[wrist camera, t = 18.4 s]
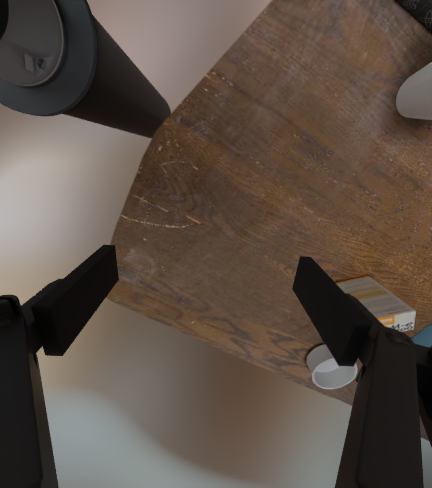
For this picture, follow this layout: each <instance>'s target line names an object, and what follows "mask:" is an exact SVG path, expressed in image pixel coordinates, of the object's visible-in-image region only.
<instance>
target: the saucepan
mask: <svg viewBox="0 0 432 488" xmlns="http://www.w3.org/2000/svg"><path fill="white" fill-rule="evenodd" d="M307 365H308V367H309V369H310V372H311V374H312V379H313V382H314V383H315V384H316V385H317V386H318V387H321V388H324V389H336V388H340V387H343V386H345V385H347V384H349V383H350V382H351V381H352V380H353V379H354V378H355V377H356V374H357V366H356V364H355V365H354V367H351V366H338V364H337V363H336V361H335V359H334V358H333V356H332V354H331V353H330V351H329V349H328V348H327V346H326V344H324V345H321V346H318V347H316V348H315V349H313V350H312V351H311V352H310V353H309V355H308V357H307Z"/></svg>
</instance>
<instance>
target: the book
mask: <svg viewBox="0 0 432 488" xmlns="http://www.w3.org/2000/svg"><path fill="white" fill-rule="evenodd" d="M396 1H398V2H399V3H400V4H401V5H402V6H403V7H404V8H405V9H407V10H408V11H409V12H410V13H411V14H412V15H413V16H414V17H415V18H417V19H418V20H419V21H420V22H421V23H422V24H423V25H424V26H426V27H427V28H428V29H429V30H430V31H431V32H432V0H396Z"/></svg>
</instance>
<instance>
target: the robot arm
mask: <svg viewBox="0 0 432 488" xmlns="http://www.w3.org/2000/svg"><path fill="white" fill-rule="evenodd" d="M67 52H68V35H67V29H66V25H65V21H64V18H63V15H62V12H61V10H60V7H59V5H58V3H57V1H56V0H0V79H2V80H4V81H6V82H9V83H12V84H14V85H17V86H21V87H26V88H38V87H42V86H45V85H47V84H49V83H51V82H52V81H53V80H55V79H56V77H57V76H58V75H59V74H60V72H61V71H62V69H63V67H64V64H65V61H66V58H67ZM118 280H119V278H118V269H117V260H116V251H115V245H103V246H102V247H101V248H99V249H98V250H97V251H96V252H95V253H93V254H92V255H91V256H90V257H89V258H88V259H86V260H85V261H84V262H83V263H82V264H80V265H79V266H78V267H77V268H76V269H75V270H73V271H72V272H71V273H70V274H69V275H68V276H66V277H65V278H64V279H58V280H56V281H54V282H52V283H50V284H48V285H47V286H46V287H44V288H43V289H42V291H39V292H38V293H37V294H36V296H33V297H32V298H31V299H29V300H28V301H27V302H26V303H24V304H23V305H22V306H21V305H20V302H19V299H18V297H17V296H14V295H2V296H0V488H58V481H57V475H56V469H55V463H54V456H53V450H52V444H51V438H50V432H49V426H48V419H47V413H46V407H45V401H44V395H43V388H42V382H41V376H40V369H39V364H38V358H37V355H36V353H37V351H38V350H39V349H40V348H41V347H42V346H43V349H44V352H45V355H50V356H63V355H64V353H65V352H66V350H67V349H68V348H69V346H70V345H71V344H72V342H73V341H74V340H75V338H76V337H77V336H78V334H79V333H80V331H81V330H82V329H83V327H84V326H85V325H86V323H87V322H88V321H89V319H90V318H91V317H92V315H93V314H94V312H95V311H96V310H97V308H98V307H99V306H100V304H101V303H102V302H103V300H104V299H105V298H106V296H107V295H108V293H109V292H110V291H111V289H112V288H113V287H114V285H115V284H116V283H117V281H118ZM292 289H293V291H294V292H295V294H296V296H297V297H298V299H299V301H300V302H301V304H302V306H303V307H304V309H305V311H306V312H307V314H308V316H309V317H310V319H311V321H312V322H313V324H314V326H315V327H316V329H317V331H318V332H319V334H320V336H321V338H322V339H323V341H324V343H325V344H326V346H327V348H328V349H329V351H330V353H331V354H332V356H333V358H334V359H335V361H336V363H337V364H338V366H351V367H354V365H355V362H356V360H357V358H359V360H360V361H361V362H362V364H363V365H362V368H361V370H360V372H359V374H358V376H357V378H356V381H357V382H358V383H357V388H356V393H355V397H354V402H353V406H352V411H351V416H350V420H349V425H348V430H347V434H346V439H345V443H344V448H343V452H342V457H341V462H340V466H339V471H338V475H337V480H336V485H335V488H424V487H423V469H422V454H421V436H420V420H419V414H420V417H421V420H422V422H423V425H424V428H425V430H426V433H427V436H428V439H429V441H430V444H431V446H432V346H431V347H426V346H422V345H418V344H415V343H414V342H413V341H412V340H411V339H410V338H409V337H408V336H407V335H405V334H404V333H402V332H400V331H398V330H396V329H393V328H390V327H385V326H384V325H383V324H382V323H381V322H380V321H379V320H378V319H377V318H376V317H375V316H374V315H373V314H372V313H371V312H370V311H368V309H367V308H366V307H365V306H363V304H362V303H361V302H360V301H359V300H358V299H357V298H355V297H354V296H352V295H351V294H349V293H344V291H343V290H342V289H341V288H340V287H339V286H338V285H337V284H336V283H335V282H334V281H333V280H332V279H331V278H330V277H329V276H328V275H327V274H326V273H325V272H324V271H323V269H322V268H321V267H320V266H319V265H318V264H317V263H316V262H315V261H314V260H313V259H312V258H311V257H302V256H300V259H299V263H298V268H297V272H296V276H295V280H294V284H293V288H292Z"/></svg>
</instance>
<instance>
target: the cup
mask: <svg viewBox="0 0 432 488" xmlns="http://www.w3.org/2000/svg"><path fill="white" fill-rule="evenodd" d="M396 107H397V110H398V112H399V113H400V114H401V115H402V116H404V117H407V118H416V119H427V120H432V62H431V63H429V64H428V65H426V66H425V67H423V68H422V69H420V70H419V71H418V72H416V73H415V74H413V75H412V76H410V77H409V78H408V79H407V80H406V81H405V82H404V83H403V84H402V85H401V87H400V89H399V91H398V93H397V97H396Z"/></svg>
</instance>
